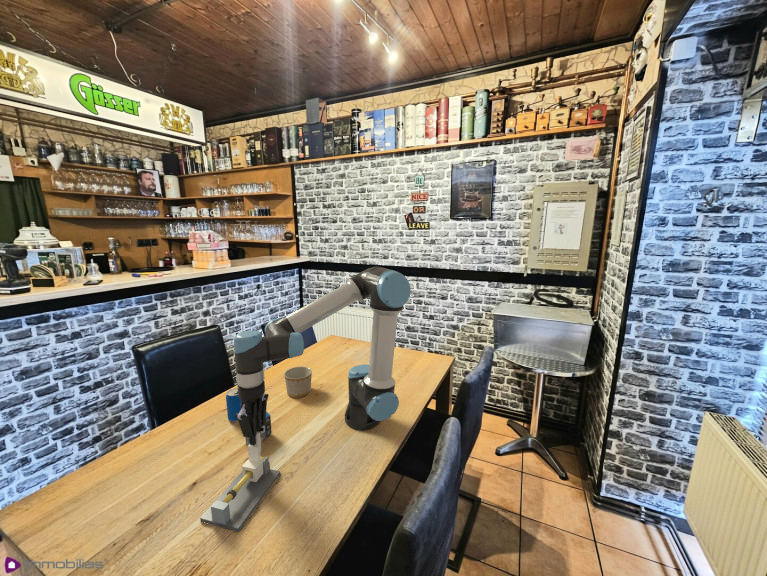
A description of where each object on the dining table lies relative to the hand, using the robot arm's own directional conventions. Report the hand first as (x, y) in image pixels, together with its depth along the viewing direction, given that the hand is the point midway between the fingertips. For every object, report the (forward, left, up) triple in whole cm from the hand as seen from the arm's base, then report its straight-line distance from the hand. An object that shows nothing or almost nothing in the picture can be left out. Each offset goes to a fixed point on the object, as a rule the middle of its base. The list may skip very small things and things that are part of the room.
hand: (256, 451), depth 98 cm
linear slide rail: (0, +7, -10) cm, 12 cm away
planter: (+13, -50, -10) cm, 52 cm away
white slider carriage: (0, +2, -7) cm, 7 cm away
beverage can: (+28, -25, -10) cm, 38 cm away
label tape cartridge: (+11, -16, -10) cm, 22 cm away
